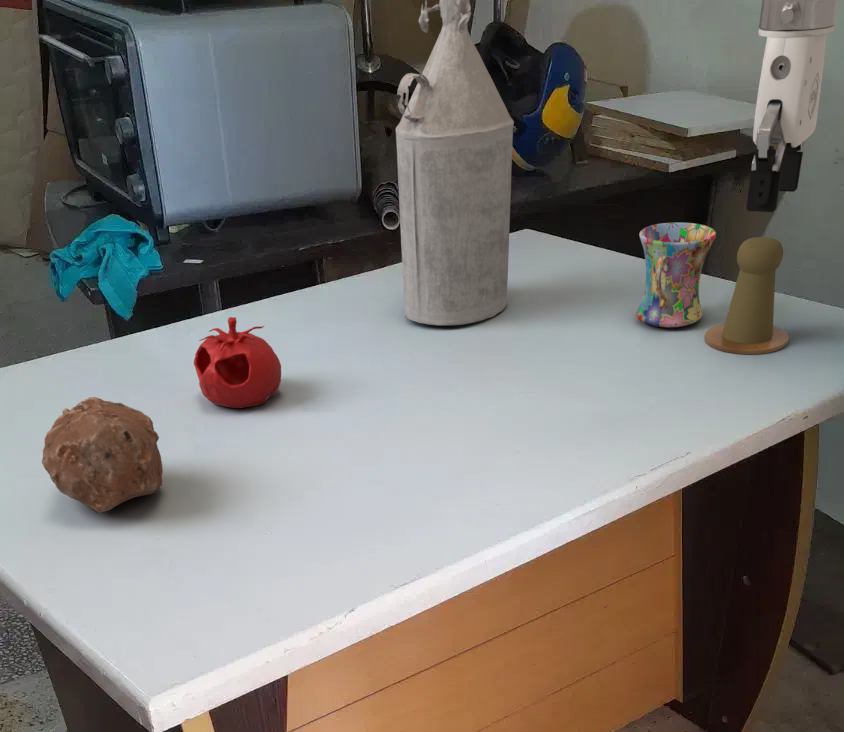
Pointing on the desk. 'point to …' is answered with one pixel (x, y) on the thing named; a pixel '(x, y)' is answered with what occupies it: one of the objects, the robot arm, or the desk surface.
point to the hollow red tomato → (237, 368)
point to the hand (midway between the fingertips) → (772, 200)
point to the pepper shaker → (754, 292)
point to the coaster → (719, 342)
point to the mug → (673, 272)
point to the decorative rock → (103, 454)
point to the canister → (454, 181)
